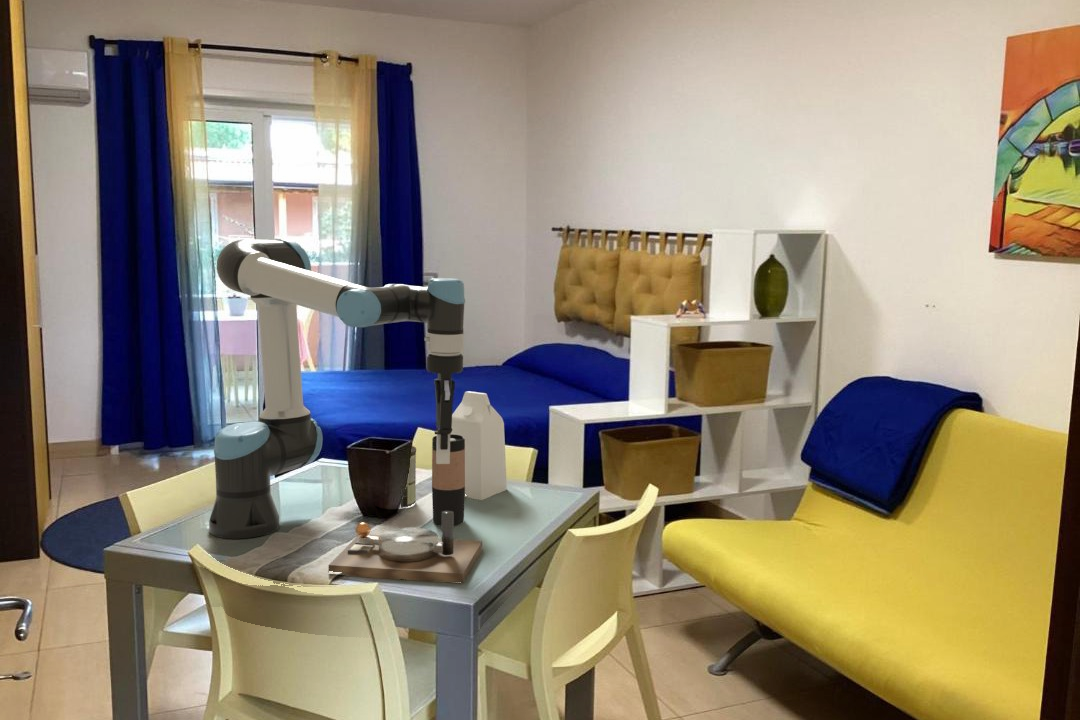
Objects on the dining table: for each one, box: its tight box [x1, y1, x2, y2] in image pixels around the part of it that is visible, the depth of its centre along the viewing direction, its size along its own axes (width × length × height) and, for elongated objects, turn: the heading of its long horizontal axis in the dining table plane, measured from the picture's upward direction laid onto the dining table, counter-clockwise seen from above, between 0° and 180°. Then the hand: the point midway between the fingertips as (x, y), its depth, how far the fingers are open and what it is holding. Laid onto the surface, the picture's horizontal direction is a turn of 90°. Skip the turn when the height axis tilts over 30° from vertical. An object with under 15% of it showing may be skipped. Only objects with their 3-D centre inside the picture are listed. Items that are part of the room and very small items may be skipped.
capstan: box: [355, 511, 455, 562], centre depth 190 cm, size 21×12×9 cm, turn 76°
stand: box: [327, 533, 483, 584], centre depth 191 cm, size 27×19×3 cm
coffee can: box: [401, 445, 417, 508], centre depth 229 cm, size 10×10×14 cm
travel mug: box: [431, 434, 466, 527], centre depth 216 cm, size 8×8×20 cm
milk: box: [450, 390, 508, 501], centre depth 241 cm, size 12×12×26 cm
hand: (442, 462), depth 197 cm, fingers closed
